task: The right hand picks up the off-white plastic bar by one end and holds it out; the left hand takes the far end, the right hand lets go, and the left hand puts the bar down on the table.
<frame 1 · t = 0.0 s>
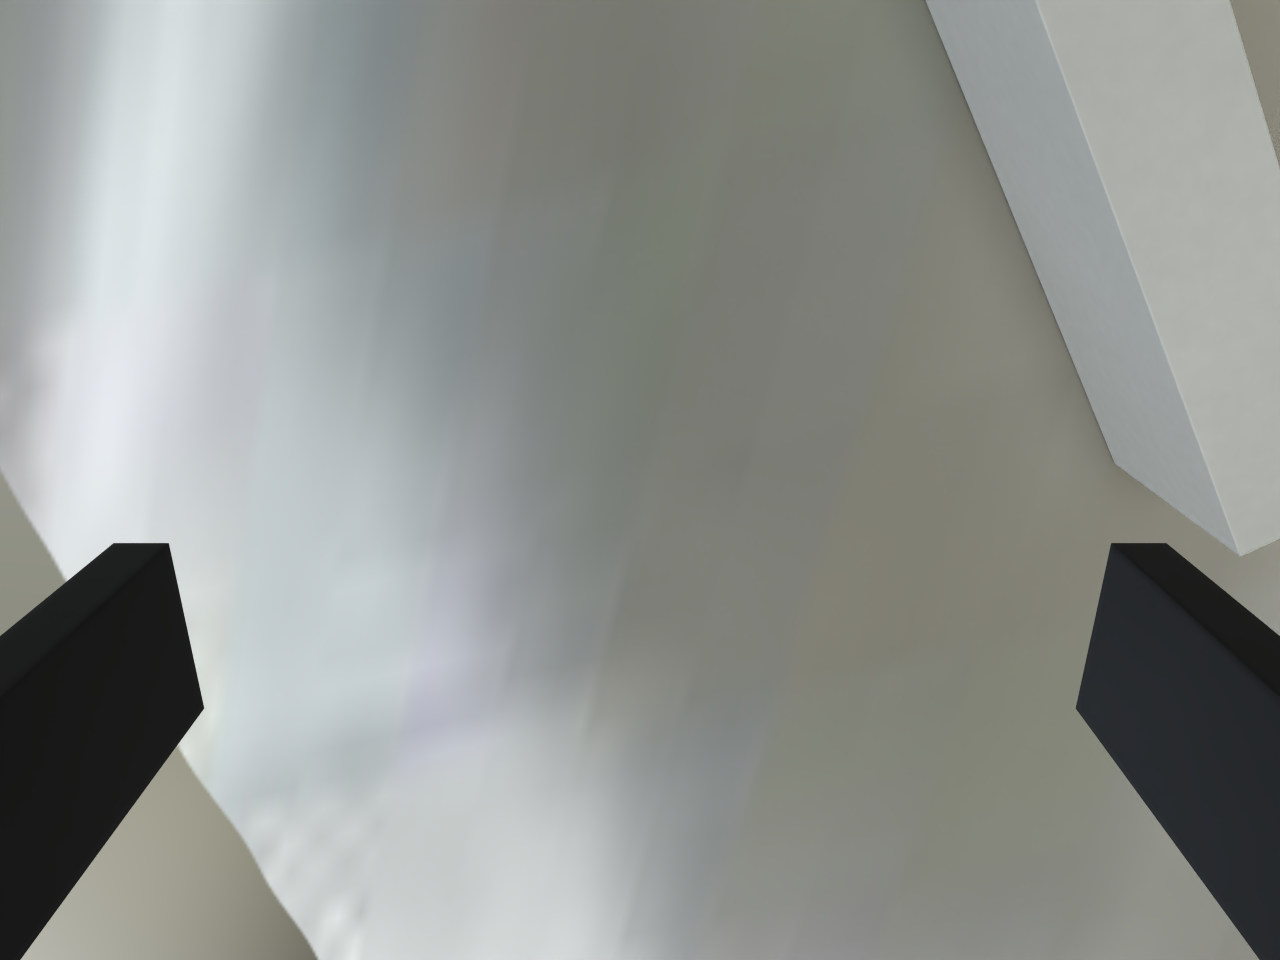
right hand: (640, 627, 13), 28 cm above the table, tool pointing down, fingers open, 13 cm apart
bar: (1074, 199, 38), on the table
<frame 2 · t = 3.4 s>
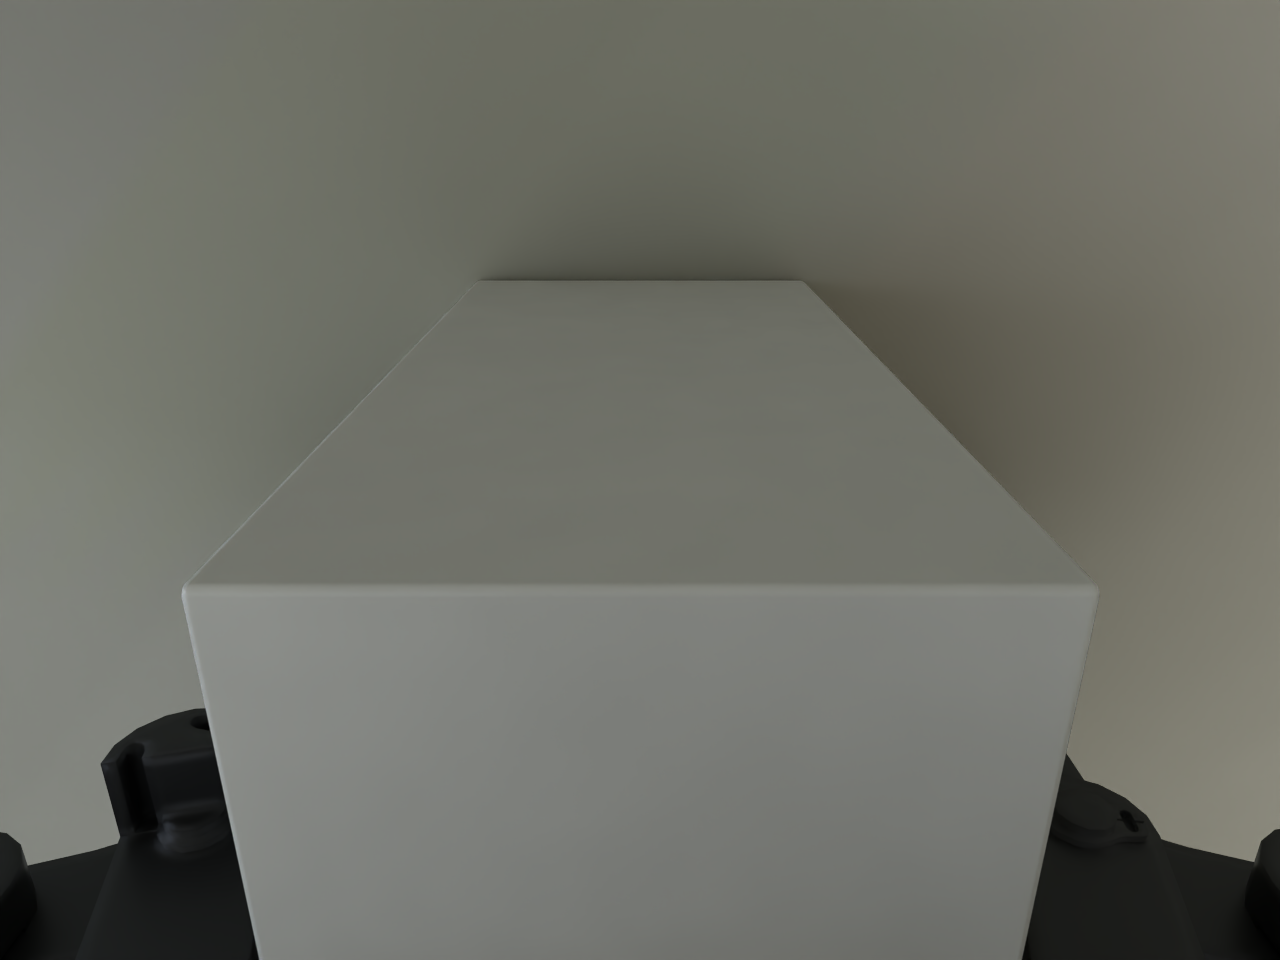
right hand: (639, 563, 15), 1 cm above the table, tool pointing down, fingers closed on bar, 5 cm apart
bar: (640, 892, 18), on the table, touching right hand
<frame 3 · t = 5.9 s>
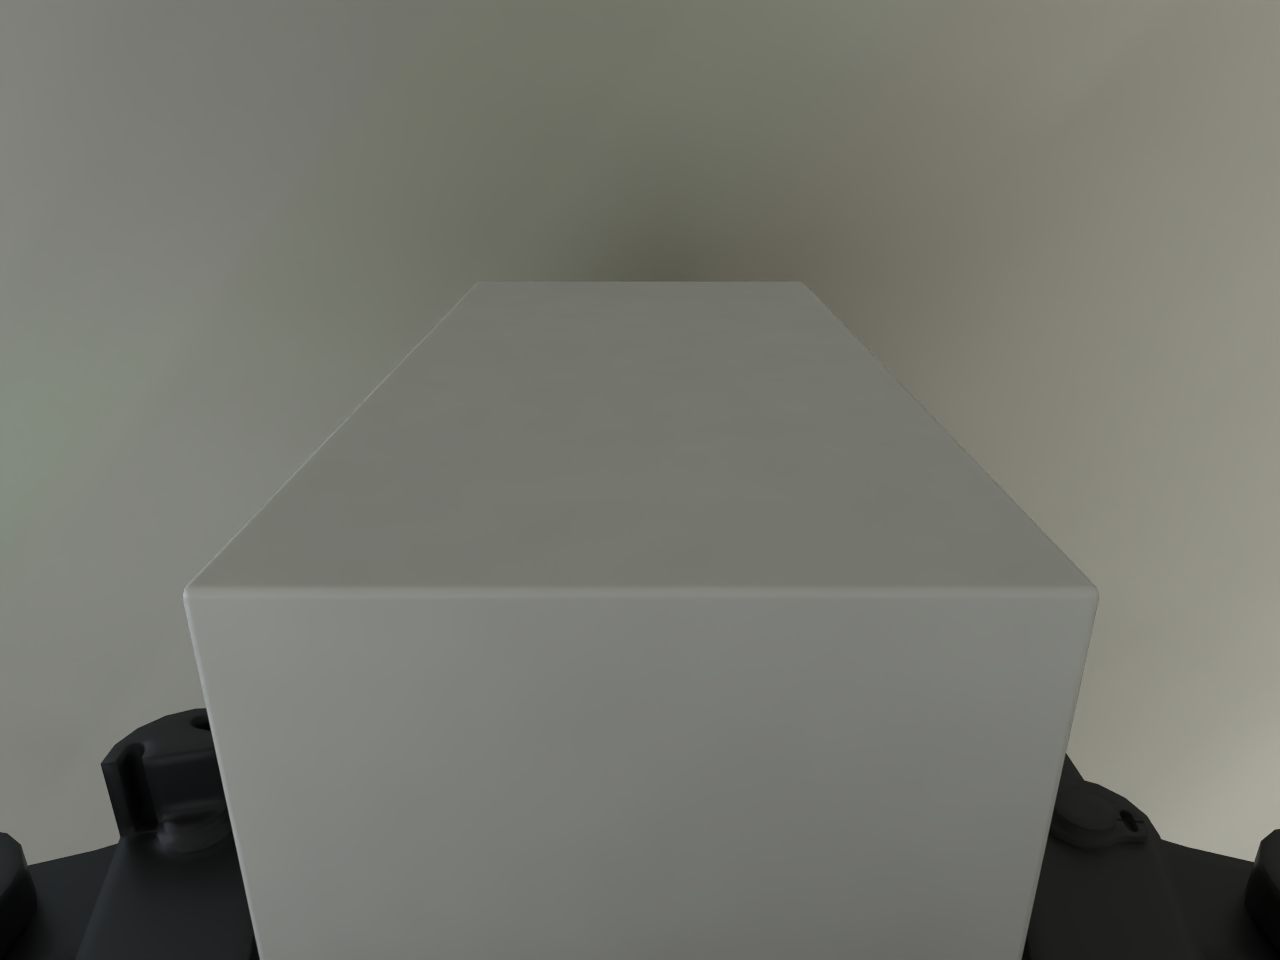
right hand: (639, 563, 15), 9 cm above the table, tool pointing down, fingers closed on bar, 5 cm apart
bar: (640, 892, 18), point 9 cm above the table, touching right hand
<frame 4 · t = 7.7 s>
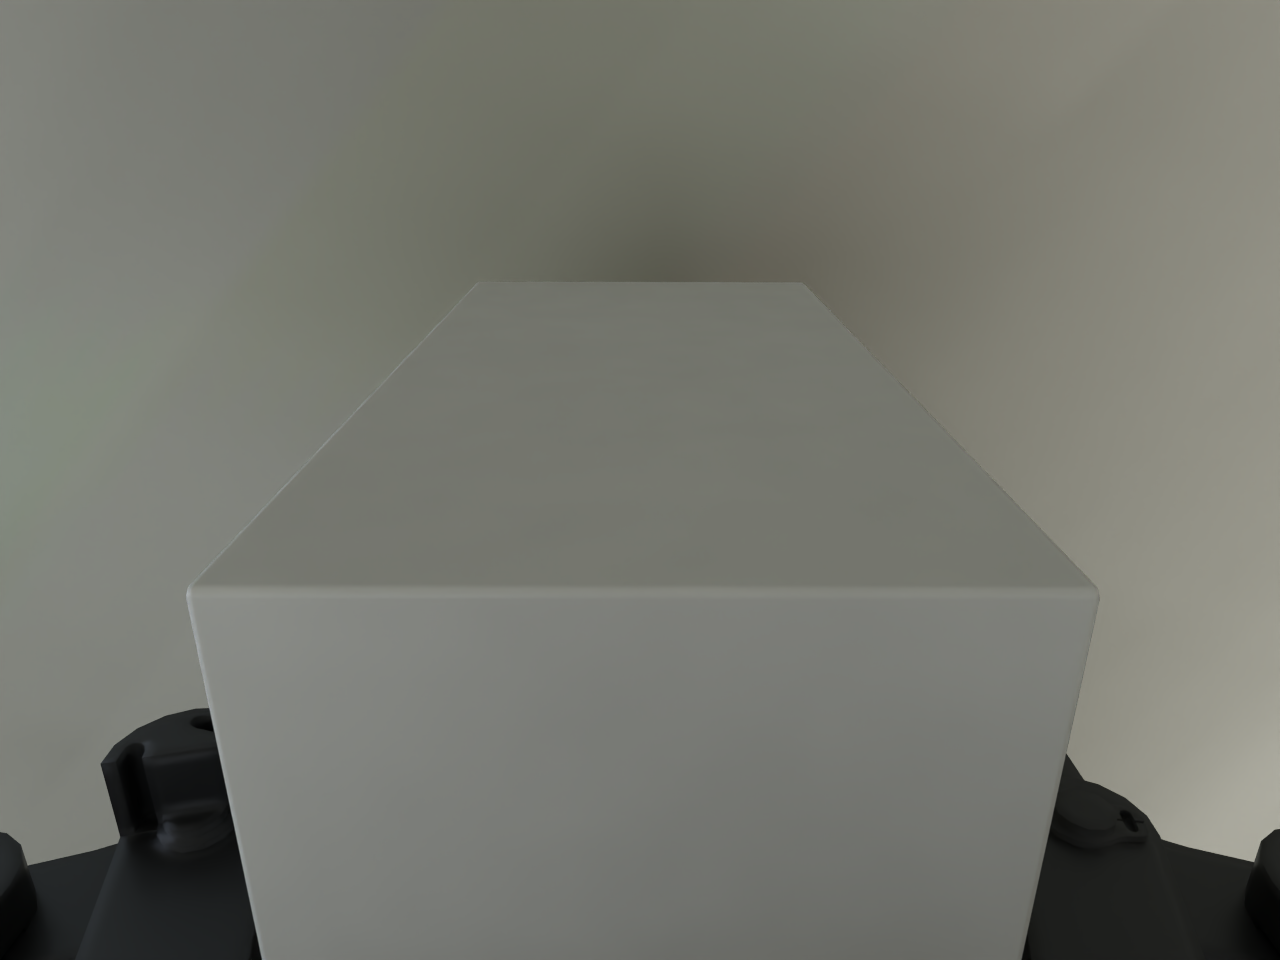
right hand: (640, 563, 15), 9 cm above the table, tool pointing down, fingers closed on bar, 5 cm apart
bar: (639, 892, 18), point 9 cm above the table, touching right hand, left hand
when the right hand's fingers open (9 cm above the table, at t = 8.5 s): bar stays where it is, held by the left hand.
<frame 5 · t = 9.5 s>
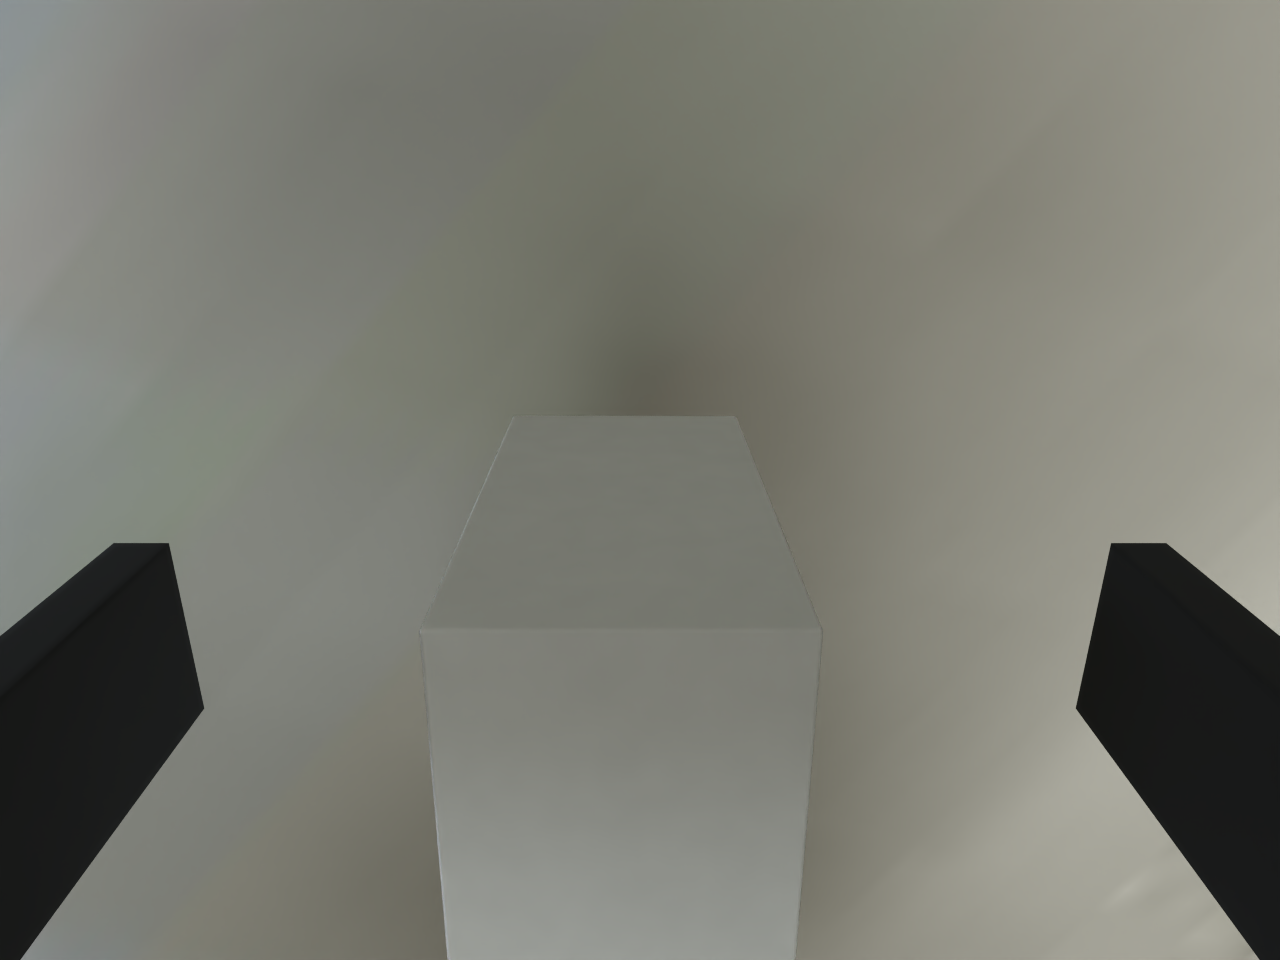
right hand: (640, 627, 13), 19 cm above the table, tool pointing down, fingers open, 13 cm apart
bar: (624, 856, 24), point 11 cm above the table, touching left hand
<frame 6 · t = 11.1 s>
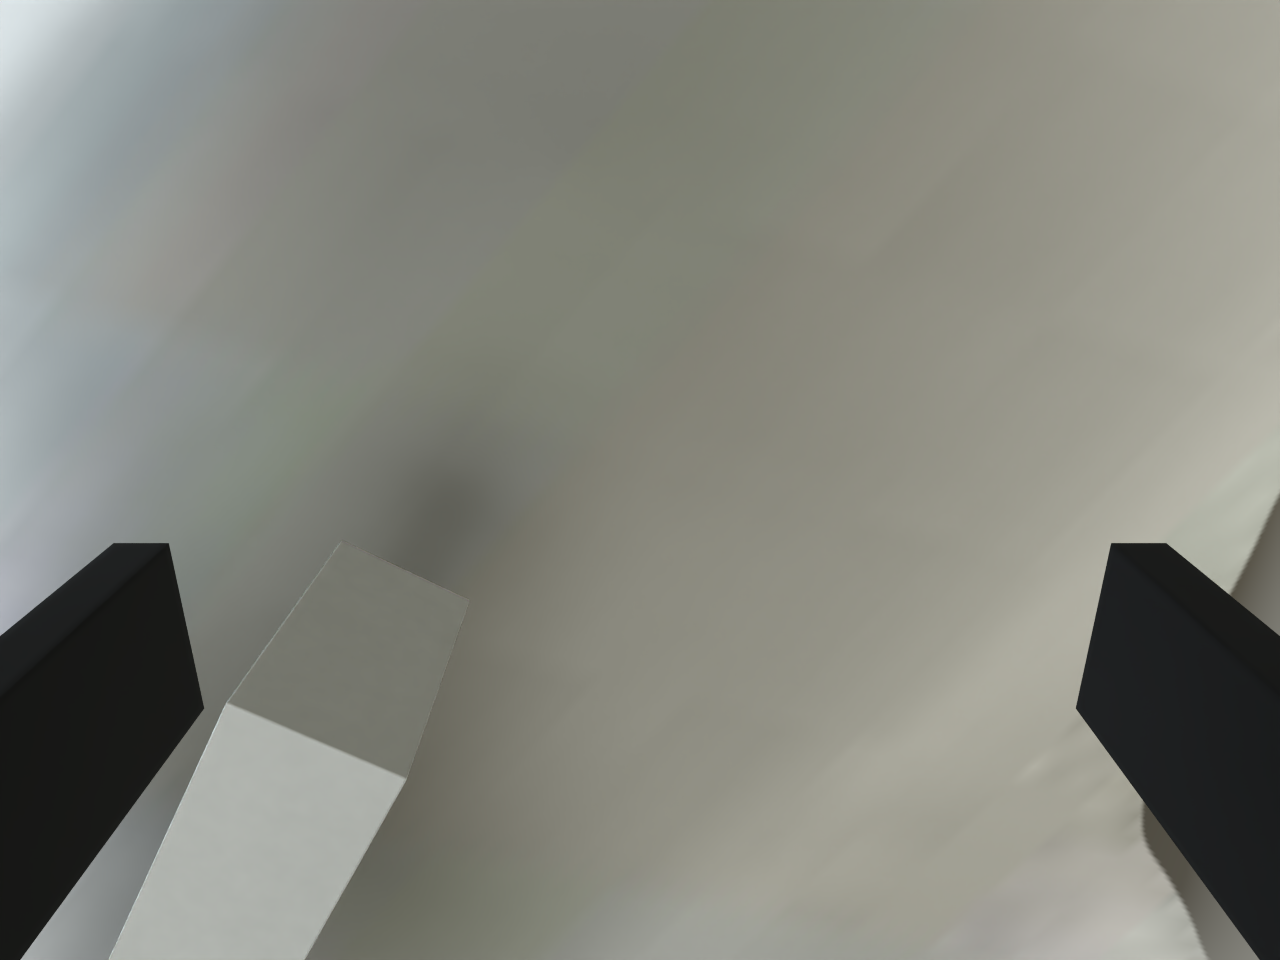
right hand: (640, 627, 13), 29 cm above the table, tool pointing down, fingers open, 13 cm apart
bar: (284, 809, 36), point 11 cm above the table, touching left hand
when the left hand's fingers open (5 cm above the table, at t = 14.5 s): bar stays where it is, on the table.
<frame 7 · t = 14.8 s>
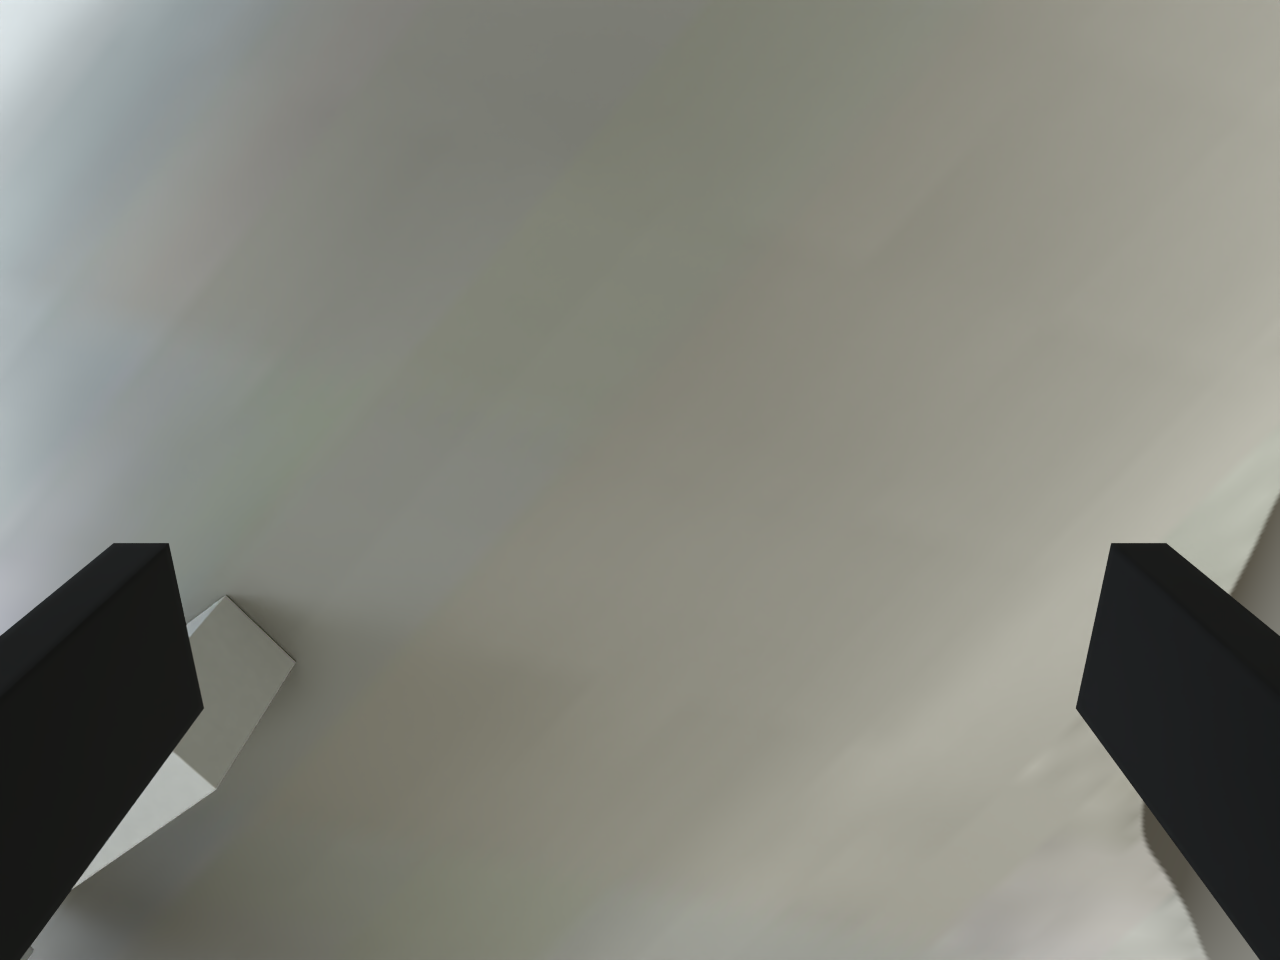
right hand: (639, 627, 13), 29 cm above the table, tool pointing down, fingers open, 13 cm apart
bar: (101, 746, 49), on the table
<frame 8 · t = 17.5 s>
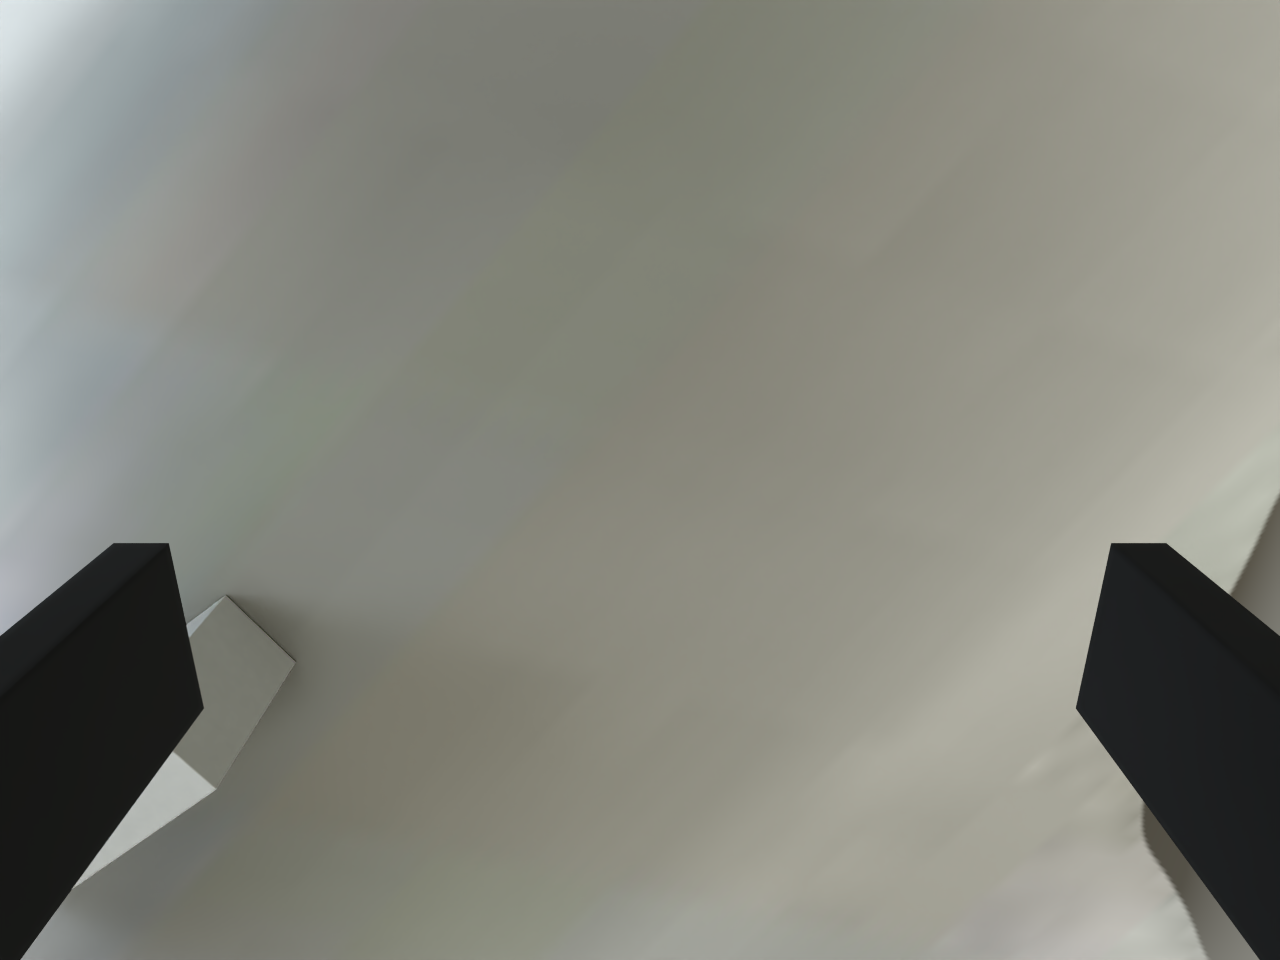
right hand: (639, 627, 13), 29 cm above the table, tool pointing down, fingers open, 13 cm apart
bar: (101, 746, 49), on the table
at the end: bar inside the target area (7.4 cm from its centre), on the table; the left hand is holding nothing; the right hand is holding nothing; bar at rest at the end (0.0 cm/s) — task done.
